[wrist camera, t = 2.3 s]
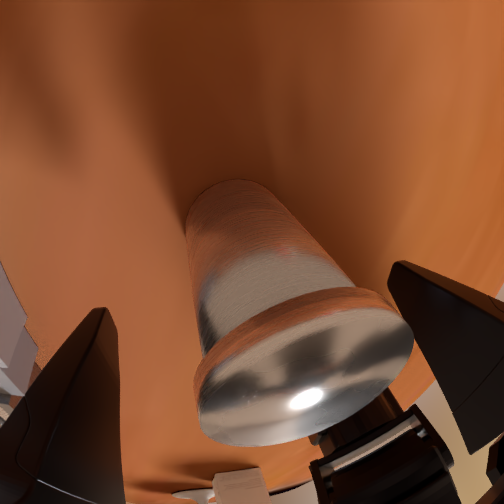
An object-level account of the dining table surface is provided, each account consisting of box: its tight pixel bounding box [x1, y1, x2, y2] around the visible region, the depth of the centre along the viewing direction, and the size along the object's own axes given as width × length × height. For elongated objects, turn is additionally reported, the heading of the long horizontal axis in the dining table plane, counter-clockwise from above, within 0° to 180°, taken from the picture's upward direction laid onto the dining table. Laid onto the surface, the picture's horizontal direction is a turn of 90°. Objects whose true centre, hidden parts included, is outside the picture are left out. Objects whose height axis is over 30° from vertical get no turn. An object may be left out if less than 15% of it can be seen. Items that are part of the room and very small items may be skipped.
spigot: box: [185, 179, 414, 447], centre depth 8 cm, size 5×5×8 cm
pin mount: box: [0, 362, 41, 427], centre depth 10 cm, size 5×5×4 cm
